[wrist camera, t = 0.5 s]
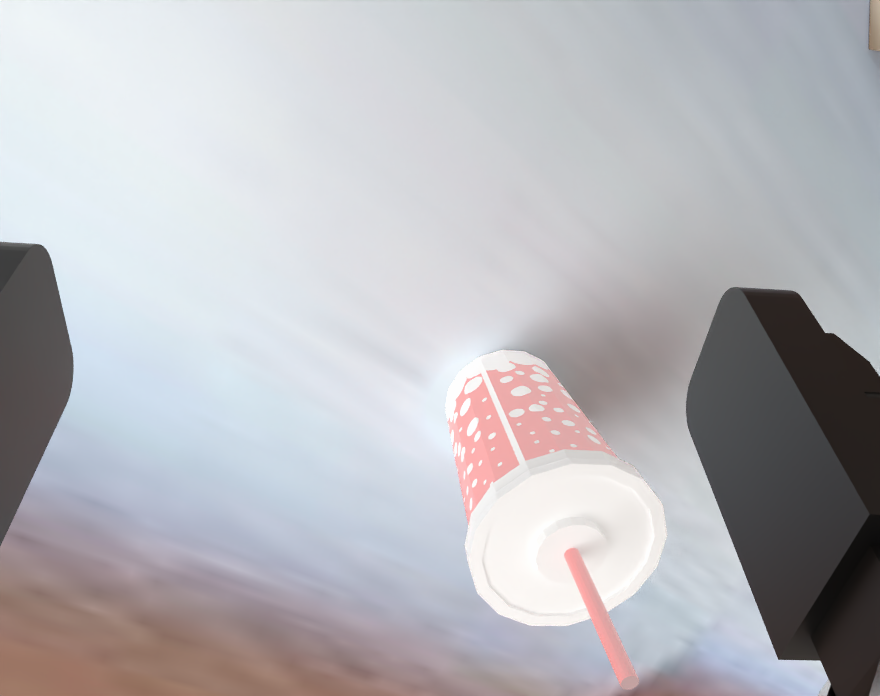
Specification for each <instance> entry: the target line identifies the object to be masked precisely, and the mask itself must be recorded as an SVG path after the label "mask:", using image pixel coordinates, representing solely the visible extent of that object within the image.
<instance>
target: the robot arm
mask: <svg viewBox="0 0 880 696" xmlns="http://www.w3.org/2000/svg"><path fill="white" fill-rule="evenodd" d="M72 381H73V353H72V348H71V343H70V339H69V335H68V330H67V326H66V322H65V317H64V313H63V308H62V304H61V300H60V295H59V291H58V287H57V282H56V278H55V274H54V269H53V265H52V261H51V258H50V256H49V253H48V252H47V250H46V249H45V248H44V247H43V246H42V245H39V244H26V243H9V242H0V546H1V544H2V541H3V539H4V537H5V535H6V533H7V531H8V529H9V526H10V524H11V522H12V520H13V518H14V516H15V514H16V511H17V509H18V507H19V505H20V503H21V501H22V499H23V496H24V494H25V492H26V490H27V488H28V486H29V484H30V482H31V479H32V477H33V475H34V473H35V471H36V469H37V467H38V464H39V462H40V460H41V458H42V456H43V454H44V452H45V449H46V447H47V445H48V443H49V441H50V439H51V437H52V434H53V432H54V430H55V428H56V426H57V424H58V422H59V419H60V417H61V415H62V413H63V411H64V409H65V407H66V404H67V402H68V399H69V396H70V392H71V388H72ZM686 414H687V423H688V428H689V431H690V434H691V437H692V439H693V442H694V444H695V447H696V450H697V452H698V455H699V457H700V460H701V462H702V465H703V468H704V470H705V473H706V475H707V478H708V480H709V483H710V485H711V488H712V491H713V493H714V496H715V498H716V501H717V503H718V506H719V509H720V511H721V514H722V516H723V519H724V521H725V524H726V526H727V529H728V532H729V534H730V537H731V539H732V542H733V544H734V547H735V550H736V552H737V555H738V557H739V560H740V562H741V565H742V567H743V570H744V573H745V575H746V578H747V580H748V583H749V585H750V588H751V591H752V593H753V596H754V598H755V601H756V603H757V606H758V608H759V611H760V614H761V616H762V619H763V621H764V624H765V626H766V629H767V632H768V634H769V637H770V639H771V642H772V644H773V647H774V649H775V652H776V655H777V657H778V660H821V663H822V665H823V667H824V669H825V672H826V674H827V676H828V680H827V682H826V683H825V685H824V686H823V687H822V689H821V690H820V692H819V694H818V696H880V377H879V375H878V374H877V372H876V371H875V369H874V368H873V367H872V365H871V364H870V362H869V361H868V360H866V359H865V358H864V357H863V356H861V355H860V354H859V353H858V352H856V351H855V350H854V349H853V348H851V347H850V346H849V345H848V344H846V343H845V342H844V341H843V340H841V339H840V338H839V337H837V336H836V335H835V334H832V333H825V332H824V331H823V329H822V328H821V326H820V325H819V323H818V322H817V320H816V319H815V317H814V316H813V314H812V313H811V311H810V309H809V308H808V306H807V305H806V303H805V302H804V300H803V299H802V298H801V296H800V295H799V294H798V293H796V292H794V291H789V290H772V289H755V288H738V287H733V288H730V289H729V290H727V291H726V292H725V294H724V295H723V296H722V298H721V300H720V302H719V305H718V307H717V310H716V313H715V315H714V318H713V321H712V324H711V326H710V329H709V332H708V334H707V337H706V340H705V342H704V345H703V348H702V351H701V353H700V356H699V359H698V361H697V364H696V367H695V369H694V372H693V375H692V378H691V380H690V384H689V387H688V392H687V401H686Z"/></svg>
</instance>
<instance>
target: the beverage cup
mask: <svg viewBox="0 0 880 696" xmlns="http://www.w3.org/2000/svg"><path fill="white" fill-rule="evenodd" d="M445 411H446V416H447V421H448V426H449V431H450V436H451V441H452V446H453V451H454V456H455V461H456V466H457V471H458V476H459V481H460V486H461V491H462V496H463V501H464V506H465V511H466V516H467V521H468V531H467V536H466V541H465V549H466V553H467V560H468V564H469V567H470V571H471V574H472V577H473V581H474V584H475V587H476V591H477V593H478V594H479V595H480V596H481V597H482V598H483V599H484V600H485V601H486V602H487V603H488V604H489V605H490V606H491V607H492V608H493V609H494V610H495V611H496V612H497V613H498V614H499V615H502V616H505V617H507V618H510V619H513V620H516V621H519V622H521V623H524V624H527V625H530V626H568V625H571V624H575V623H578V622H581V621H585V620H588V619H592V622H593V624H594V626H595V629H596V631H597V633H598V635H599V638H600V640H601V642H602V645H603V647H604V649H605V651H606V654H607V656H608V658H609V661H610V663H611V665H612V667H613V670H614V672H615V674H616V676H617V679H618V681H619V683H620V686H621V687H622V688H623V689H625V690H630V689H633V688H635V687H636V686H637V685H638V683H639V678H638V676H637V674H636V672H635V670H634V668H633V666H632V664H631V661H630V659H629V657H628V655H627V653H626V651H625V649H624V646H623V644H622V642H621V640H620V638H619V636H618V634H617V631H616V629H615V627H614V625H613V623H612V621H611V619H610V616H609V614H608V611H610V610H611V609H613V608H614V607H616V606H617V605H619V604H620V603H622V602H623V601H625V600H627V599H628V598H630V597H631V596H633V595H634V594H635V593H636V592H637V591H638V589H639V588H640V587H641V586H642V585H643V583H644V582H645V581H646V580H647V578H648V577H649V576H650V575H651V574H652V572H653V571H654V570H655V569H656V567H657V566H658V563H659V559H660V556H661V553H662V550H663V547H664V544H665V541H666V538H667V529H666V523H665V516H664V509H663V504H662V503H661V501H660V500H659V498H658V497H657V496H656V495H655V493H654V492H653V491H652V489H651V488H650V487H649V485H648V484H647V483H646V482H645V480H644V479H643V478H642V477H641V475H640V474H639V473H638V471H637V470H636V469H635V468H634V466H633V465H631V464H629V463H627V462H624V461H622V460H620V459H618V458H617V456H616V455H615V454H614V452H613V451H612V450H611V448H610V447H609V446H608V445H607V443H606V442H605V441H604V439H603V438H602V437H601V435H600V434H599V433H598V431H597V430H596V429H595V428H594V426H593V425H592V424H591V422H590V421H589V420H588V418H587V417H586V416H585V414H584V413H583V412H582V410H581V409H580V408H579V407H578V405H577V404H576V403H575V401H574V400H573V399H572V397H571V396H570V395H569V393H568V392H567V391H566V390H565V388H564V387H563V386H562V384H561V383H560V382H559V380H558V379H557V378H556V376H555V375H554V374H553V373H552V371H551V370H550V369H549V367H548V366H547V365H546V364H545V362H544V361H543V360H541V359H539V358H537V357H535V356H533V355H531V354H529V353H527V352H525V351H514V350H499V351H495V352H492V353H489V354H485V355H482V356H479V357H478V358H476V359H475V360H474V361H472V362H471V363H469V364H468V365H467V366H465V367H464V368H463V369H461V370H460V372H459V373H458V375H457V376H456V378H455V379H454V381H453V382H452V384H451V385H450V387H449V389H448V394H447V400H446V406H445Z"/></svg>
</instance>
